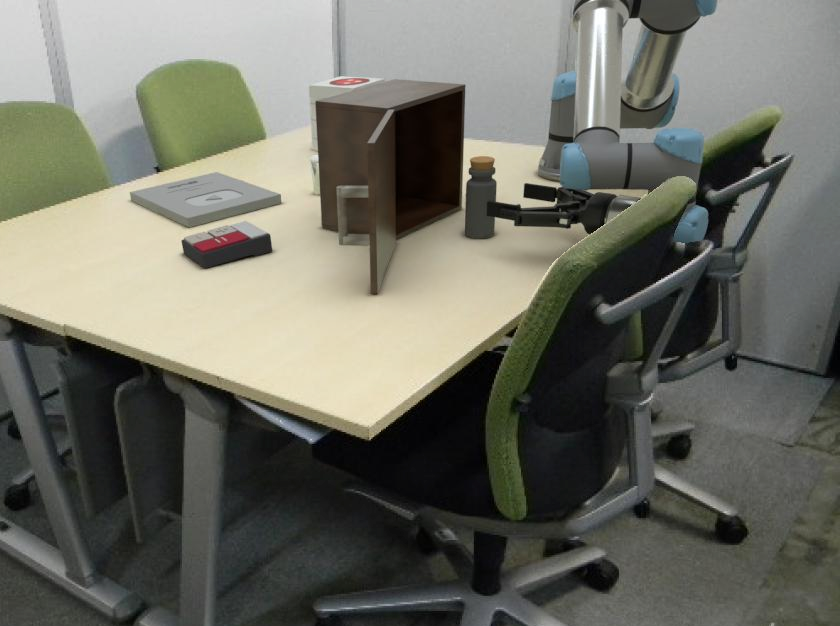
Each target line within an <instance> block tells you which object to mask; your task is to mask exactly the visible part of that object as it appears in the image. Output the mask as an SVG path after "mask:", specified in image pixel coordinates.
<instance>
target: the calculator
mask: <svg viewBox="0 0 840 626" xmlns="http://www.w3.org/2000/svg"><path fill="white" fill-rule="evenodd" d="M206 231H207V232H206ZM206 231H201V232H197V233H194V234H190V235H186V236H184V237H183V239H181V247H182V252H183V254H184V255H185V256H186V257H188V258H189V259H190V260H192V261H193V262H194V263H196V264H197V265H199V266H200V267H201V268H202V269H209V268H211V267H216V266H218V265H221V264H225V263H228V262H232V261H235V260H238V259H241V258H245V257H248V256H255V257H258V256H262V255H265V254H268V253H272V252H273V244H272V238H271V234H270V233H268V232H267V231H265V230H263V229H261V228H259V227H258V226H256V225H254V224H253V223H250V222H249V221H247V220H243V221H239V222H236V223H233V224H230V225H229V224H226V225H222V226H218V227H215V228H212V229H208V230H206Z"/></svg>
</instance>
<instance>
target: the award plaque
mask: <svg viewBox="0 0 840 626" xmlns="http://www.w3.org/2000/svg"><path fill="white" fill-rule="evenodd" d="M129 197H130V201H131V202H133V203H135V204H137V205H139V206H141V207H144V208H146V209H148V210H150V211H152V212H154V213H156V214H159V215H161V216H163V217H165V218H167V219H169V220H171V221H174V222H175V223H178V224H180V225H182V226H184V227H186V228H192V227H196V226H201V225H204V224H207V223H211V222H216V221H219V220H223V219H227V218H231V217H234V216H239V215H242V214H246V213H250V212H254V211H257V210H262V209H265V208H268V207H273V206H277V205H280V204H282V194H281V193H278V192H275V191H272V190H270V189H267V188H264V187H261V186H258V185H256V184H252V183H249V182H247V181H244V180H241V179H238V178H235V177H232V176H230V175H227V174H224V173H221V172H219V171H216V172H211V173H207V174H202V175H198V176H194V177H188V178H185V179H180V180H176V181H171V182H167V183H163V184H159V185H155V186H151V187H145V188H141V189H137V190H132V191H130V192H129Z"/></svg>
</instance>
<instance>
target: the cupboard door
mask: <svg viewBox="0 0 840 626" xmlns="http://www.w3.org/2000/svg"><path fill="white" fill-rule="evenodd" d="M367 160H368V186H337V208H338V231H339V232H338V245H339V246H342V247H343V246H345V247H347V246H348V247H349V246H350V247H353V246H354V247H356V246H357V247H358V246H360V247H369V268H370V269H369V273H370V274H369V275H370V279H369V280H370V294H372V295H378V294H379V292H380V288H381V287H382V286H381V285H382V283H383V280H384V277H385V275H386V271H387V269H388V266H389V264H390V261H391V258H392V256H393V252H394V250H395V247H396V244H397V240H396V202H395V110H388V111H387V113H386V114H385V116H384V117H383V119H382V120H381V122H380V124H379V125H378V127H377V128H376V130H375V131H374V133H373V135H372V136H371V138H370V139H369V141H368V143H367ZM347 198H368V200H369V234H348V223H347Z"/></svg>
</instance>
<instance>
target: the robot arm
mask: <svg viewBox="0 0 840 626" xmlns="http://www.w3.org/2000/svg"><path fill="white" fill-rule="evenodd" d="M717 6H718V0H574V4H573V10H572V27H573V29H574V31H575V32H576V33H577V42H576V43H577V45H576V66H575V67H576V69H575V70H572V71H568V72H565V73H561V74H560V75H558V76H557V77H556V78H555V79H554V81H553V83H552V90H551V96H550V101H551V105H550V113H549V114H550V115H549V125H548V139H547V143H546V145H545V148H544V151H543V153H542V156H541V157H540V159H539V161H538V165H537V174H538V176H539V177H541V178H543V179H546V180H550V181H556V182H559V184H560V186H559V187H556V186H549V185H542V184H535V183H528V182H526V183H524V184H523V199H530V200H536V201H543V202H549V203H555V204H554V205H552V206H533V207H522V205H521V204H520V203H517V204H512V203H508V202H507V203H505V202H501V201H496V202H495V201H488V202H487V216H491V217H495V219H496V218H497V219H502V220H508V221H513V226H514V227H523V228H524V227H525V228H526V227H527V228H528V227H529V228H559V229H565V230H568V229H571V228H572V225H579V224H581V225H582V226H583V229H584V232H585V233H586V234H588V235H591V233H593V232H594V231H596V230H597V229H598V228H600V227H601V226H603V225H604V224H606V223H607V222H609V221H610V220H611V219H613V218H614V217H616V216H617V215H618V214H620V213H621V212H622V211H624V210H625V209H627V208H628V207H630V206H631V205H632V204H634V203H635V202H637V201H638V200H640V199H641V198H642V197H637V196H632V195H626V194H619V195H617V194H615V193H609V192H608V193H607V192H602V191H598V192H595V193H592V192H590V190H592V191H593V190H629V191H630V190H631V191H632V190H633V191H634V190H636V191H637V190H639V191H647V195H648V194H649V193H650V192H652V191H653V190H654V189H656V188H657V187H659V186H660V185H661V184H662V183H663V182H665V181H666V180H667V179H668V178H672V177H676V176H686V177H689V178H691V179H692V180H693V181H694V182H695V183H696V186H697V187H698V185H699V179H700V174H701V169H702V164H703V162H704V160H703V157H704V155H703V154H704V149H705V147H704V145H705V136H704V135H703V134H702V132H701V131H699V130H698V129H693V128H688V127H672V128H671V127H670V128H664V127H666V126H667V125H669V123H670V122H671V121H672V119H673V117H674V115H675V113H676V107H677V106H678V102H679V96H680V79H679V76H677V75H676V74H675V73H673V71H674V68H675V64H676V62H677V59H678V57H679V54H680V50H681V49H682V46H683V43H684V40H685V37H686V34H687V32H688V31H689V30H690V29H692V28H693V27H694V26H696V24H697V23H698V22H699V20H700V19H701V17H703V18H704V17H707V16H711V15H714V14H715V12H716V11H717ZM630 19H639V21H640V23H641V24H640V28H639V31H638V34H637V38H636V43H635V45H634V46H635V47H634V50H633V54H632V57H631V60H630V64H629V65H628V66H627V67H625V69H623V70H622V64H623V63H622V61H623V60H622V59H623V58H622V56H623V29H624V28H625V26H626V25H627V23H628V21H629V20H630ZM659 128H661V129H660V130H659V131H657V133H656V134H655V138H654V139H653V142H621V141H620V139H621V130H622V129H623V130H624V129H646V130H652V129H659ZM662 128H663V129H662ZM696 197H697V193H696V194H695V196H694V197H693V198H692V199H691V201H690V202H689V204H688V205H687V207H686V209H685V211H684V213H683V215H682V217H681V219H680V221H679V223H678V226H677V228H676V230H675V233H674V241H676V242H681V243H689V242H695V241H701V240H702V241H703V240H704V238H705V236H706V233H707V229H708V226H709V225H708V224H709V212H708V209H707V208H706V207H703V206H700V205H698V204H696V203H697V199H696Z"/></svg>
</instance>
